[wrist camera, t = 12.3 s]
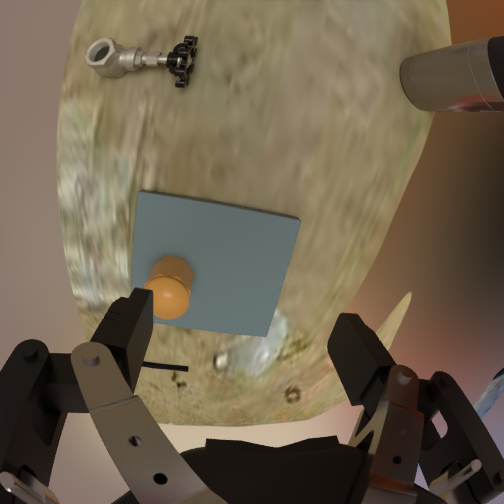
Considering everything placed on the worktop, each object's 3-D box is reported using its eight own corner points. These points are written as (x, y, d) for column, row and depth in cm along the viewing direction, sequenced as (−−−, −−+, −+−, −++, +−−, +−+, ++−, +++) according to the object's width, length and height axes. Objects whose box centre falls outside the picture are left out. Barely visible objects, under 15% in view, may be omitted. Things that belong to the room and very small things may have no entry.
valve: (98, 90, 25) (187, 93, 27) (75, 80, 19) (180, 80, 21) (111, 45, 23) (199, 47, 25) (92, 28, 17) (196, 25, 19)
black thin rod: (120, 360, 40) (119, 364, 39) (119, 356, 40) (118, 360, 39) (188, 369, 42) (187, 373, 41) (188, 364, 42) (188, 368, 41)
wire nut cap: (195, 260, 33) (191, 283, 28) (190, 296, 35) (186, 322, 30) (155, 253, 32) (144, 274, 27) (152, 289, 34) (142, 315, 28)
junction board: (297, 217, 35) (301, 220, 33) (264, 330, 41) (266, 337, 39) (141, 189, 31) (138, 191, 29) (133, 312, 37) (131, 318, 35)
